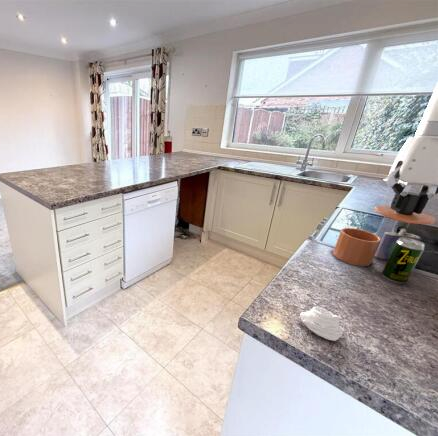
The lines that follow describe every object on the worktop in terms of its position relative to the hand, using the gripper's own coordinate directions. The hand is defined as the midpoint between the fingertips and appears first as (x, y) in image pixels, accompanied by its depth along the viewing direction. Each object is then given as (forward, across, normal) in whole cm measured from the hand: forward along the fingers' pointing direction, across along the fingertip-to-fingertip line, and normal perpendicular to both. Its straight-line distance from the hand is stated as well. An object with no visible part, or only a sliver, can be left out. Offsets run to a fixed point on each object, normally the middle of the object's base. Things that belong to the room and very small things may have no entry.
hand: (405, 210), depth 60 cm
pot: (+22, -2, -14) cm, 26 cm away
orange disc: (+1, 0, 0) cm, 1 cm away
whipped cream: (+22, +20, +21) cm, 37 cm away
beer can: (+22, -8, -4) cm, 24 cm away
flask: (+22, -14, -17) cm, 31 cm away
